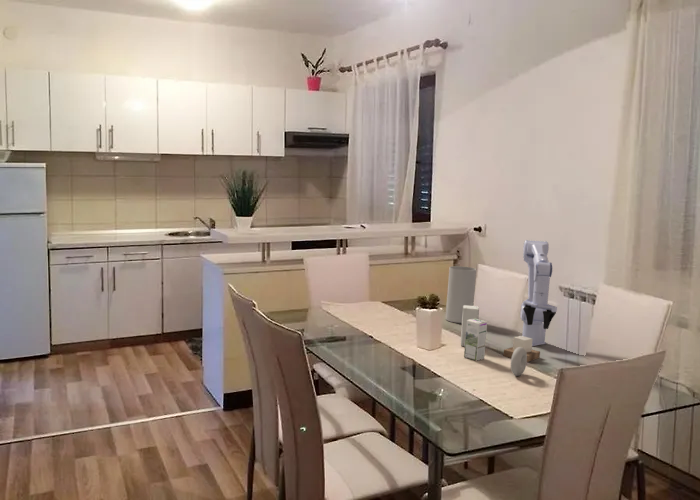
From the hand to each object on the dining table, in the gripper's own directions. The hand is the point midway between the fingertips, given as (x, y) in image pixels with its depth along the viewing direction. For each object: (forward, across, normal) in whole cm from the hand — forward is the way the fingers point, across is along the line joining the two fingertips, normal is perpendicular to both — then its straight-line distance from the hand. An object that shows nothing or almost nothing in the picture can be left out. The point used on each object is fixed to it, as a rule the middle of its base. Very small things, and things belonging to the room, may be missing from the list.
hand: (537, 326), depth 260 cm
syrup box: (+11, -6, -29) cm, 32 cm away
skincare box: (+11, -21, -16) cm, 28 cm away
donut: (+11, +16, -31) cm, 37 cm away
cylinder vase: (+10, -54, +12) cm, 56 cm away
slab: (+11, +1, -10) cm, 15 cm away
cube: (+8, +2, -10) cm, 13 cm away
